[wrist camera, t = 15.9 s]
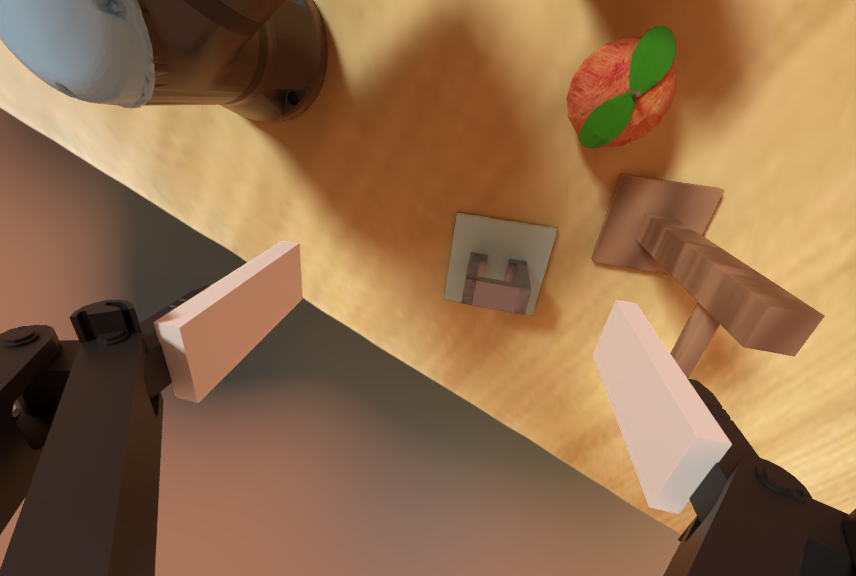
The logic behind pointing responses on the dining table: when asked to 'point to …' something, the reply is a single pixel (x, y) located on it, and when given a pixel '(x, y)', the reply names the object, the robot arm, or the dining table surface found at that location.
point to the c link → (497, 286)
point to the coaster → (498, 251)
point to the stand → (699, 269)
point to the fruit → (623, 89)
